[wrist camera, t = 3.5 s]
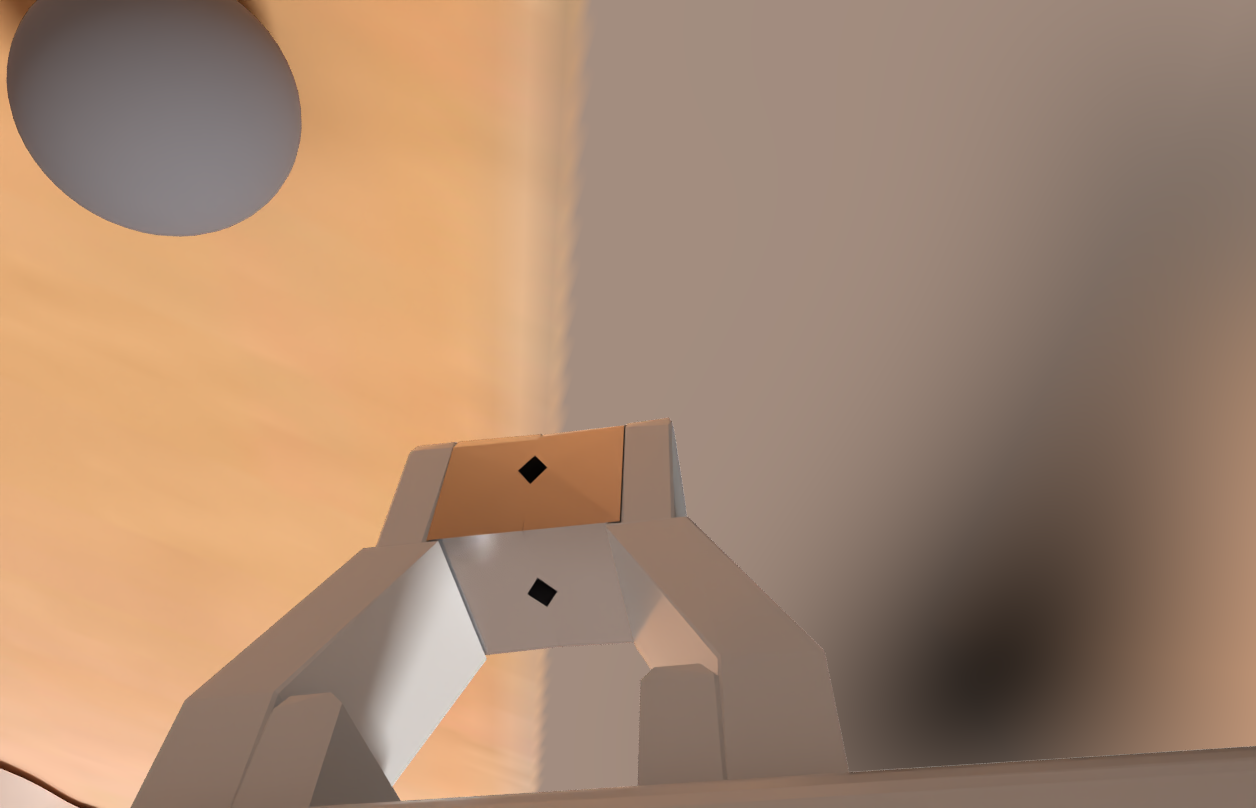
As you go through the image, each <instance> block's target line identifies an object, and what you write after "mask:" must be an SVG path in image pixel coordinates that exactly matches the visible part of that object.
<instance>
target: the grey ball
mask: <svg viewBox="0 0 1256 808" xmlns="http://www.w3.org/2000/svg"><path fill="white" fill-rule="evenodd" d="M7 91H8V98H9V103H10V107H11V111H12V115H13V119H14V121H15V124H16V127H17V130H18V132H19V134H20V136H21V138H22V140H23V142H24V144H25V146H26V148H27V150H28V151H29V153H30V154H31V156H32V157H33V159H34V160H35V162H36V163H37V164H38V166H39V167H40V168H41V169H42V171H43V172H44V173H45V174H46V175H47V176H48V178H49V179H50V180H51V181H52V182H53V183H54V184H55V185H56V186H57V187H58V188H59V189H61V190H62V191H63V192H64V193H65V194H66V195H67V196H69V197H70V198H71V199H73V200H74V201H75V202H77V203H78V204H79V205H81V206H82V207H84V208H85V209H87V210H89V211H90V212H92V213H93V214H95V215H97V216H99V217H101V218H103V219H105V220H107V221H110V222H112V223H115V224H117V225H120V226H123V227H126V228H129V229H132V230H136V231H139V232H143V233H148V234H154V235H164V236H195V235H201V234H206V233H211V232H215V231H219V230H222V229H225V228H228V227H231V226H233V225H235V224H237V223H239V222H241V221H243V220H245V219H247V218H248V217H250V216H252V215H253V214H255V213H256V212H257V211H258V210H260V209H261V208H262V207H263V206H265V205H266V204H267V203H268V202H269V201H270V200H271V199H272V198H273V197H274V196H275V194H276V193H277V192H278V191H279V189H280V188H281V186H282V185H283V183H284V182H285V180H286V179H287V177H288V175H289V174H290V171H291V169H292V167H293V164H294V162H295V159H296V155H297V151H298V147H299V144H300V137H301V107H300V101H299V95H298V90H297V87H296V83H295V80H294V77H293V74H292V72H291V70H290V67H289V65H288V62H287V60H286V59H285V57H284V55H283V53H282V51H281V50H280V48H279V46H278V45H277V43H276V42H275V40H274V39H273V38H272V36H271V35H270V33H269V32H268V31H267V30H266V28H265V27H264V26H263V25H262V24H261V23H260V21H259V20H258V19H257V18H256V17H255V16H254V15H253V14H252V13H251V12H250V11H248V10H247V9H246V8H245V7H244V6H243V5H242V4H241V3H239V2H238V1H237V0H37V1H36V2H35V3H34V4H33V5H32V6H31V7H30V8H29V10H28V11H27V13H26V14H25V16H24V17H23V19H22V21H21V22H20V24H19V26H18V28H17V31H16V33H15V36H14V38H13V40H12V43H11V48H10V52H9V57H8V64H7Z"/></svg>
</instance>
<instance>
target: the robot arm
mask: <svg viewBox="0 0 1256 808" xmlns="http://www.w3.org/2000/svg"><path fill="white" fill-rule="evenodd" d="M618 643H634V644H635V647H636V648H637V650H638V651H639V653H640V654H641V656H642V657H643V659H644V660H645V662H646V663H647V665H648V666H649V667H650V669H651V671H650V672H649V673H648V674H647V675H646V676H645V677H644V678H643V679H642V680H641V682H640V717H639V721H640V722H639V754H638V786H629V787H613V788H598V789H584V790H583V789H582V790H568V791H553V792H536V793H520V794H504V795H488V796H473V797H457V798H441V799H425V800H409V801H400V799H399V797H398V796H397V794H396V792H395V791H394V789H393V787H392V786H393V785H394V783H395V782H396V781H397V779H398V778H399V777H400V775H401V774H402V773H403V771H404V770H405V769H406V767H407V766H408V765H409V763H410V762H411V761H412V759H413V758H414V756H415V755H416V754H417V752H418V751H419V750H420V748H421V747H422V746H423V744H424V743H425V742H426V740H427V739H428V738H429V736H430V735H431V734H432V732H433V731H434V729H435V728H436V727H437V725H438V724H439V723H440V721H441V720H442V719H443V717H444V716H445V715H446V713H447V712H448V711H449V709H450V708H451V707H452V705H453V704H454V702H455V701H456V700H457V698H458V697H459V696H460V694H461V693H462V692H463V690H464V689H465V688H466V686H467V685H468V684H469V682H470V681H471V680H472V678H473V677H474V675H475V674H476V673H477V671H478V670H479V669H480V667H481V666H482V665H483V663H484V662H485V661H486V656H485V655H490V654H499V653H508V652H517V651H526V650H535V649H544V648H553V647H564V646H583V645H601V644H618ZM0 808H78V807H76V806H74V805H72V804H70V803H68V802H66V801H65V800H63V799H61V798H59V797H58V796H56V795H54V794H52V793H51V792H49V791H47V790H46V789H44V788H42V787H40V786H38V785H36V784H34V783H32V782H30V781H28V780H26V779H24V778H22V777H20V776H17V775H15V774H13V773H10V772H8V771H5V770H3V769H0ZM131 808H1256V746H1252V747H1251V746H1250V747H1235V748H1218V749H1203V750H1187V751H1173V752H1172V751H1171V752H1157V753H1141V754H1124V755H1110V756H1093V757H1077V758H1064V759H1063V758H1062V759H1046V760H1031V761H1015V762H1000V763H985V764H984V763H983V764H968V765H952V766H937V767H921V768H905V769H889V770H873V771H859V772H849V769H848V764H847V759H846V754H845V749H844V745H843V739H842V734H841V730H840V725H839V720H838V715H837V710H836V705H835V700H834V695H833V690H832V685H831V680H830V675H829V671H828V665H827V660H826V655H825V651H824V650H823V649H822V648H821V647H820V646H819V645H818V644H817V643H816V642H815V641H814V640H813V639H812V638H811V637H810V636H809V635H808V634H807V633H806V632H805V631H804V630H803V629H802V628H801V627H800V626H799V625H798V624H797V623H796V622H794V620H793V619H792V618H791V617H790V616H789V615H788V614H787V613H786V612H784V611H783V609H782V608H781V607H780V606H778V605H777V604H776V603H775V602H774V601H773V600H772V599H771V598H770V597H769V596H768V595H767V594H766V593H765V592H764V591H763V590H762V589H761V588H760V587H759V586H758V585H757V584H756V583H755V582H754V581H753V580H752V579H751V578H750V577H749V576H748V575H747V574H746V573H745V572H744V571H743V570H742V569H741V568H740V567H738V565H737V564H736V563H734V561H733V560H732V559H731V558H729V556H728V555H727V554H725V552H723V551H722V550H721V549H720V548H719V547H718V546H717V545H716V544H715V543H714V542H713V541H712V540H711V539H710V538H709V537H708V536H707V535H706V534H705V533H704V532H703V531H702V530H701V529H700V528H699V527H698V526H697V525H696V524H695V523H694V522H693V521H692V520H691V519H690V518H689V517H687V514H686V505H685V497H684V491H683V484H682V478H681V471H680V465H679V458H678V452H677V445H676V439H675V432H674V427H673V423H672V421H671V420H670V418H663V419H655V420H648V421H641V422H634V423H627V425H622V426H614V427H606V428H596V429H588V430H579V431H570V432H562V433H553V434H544V435H542V434H538V435H527V436H516V437H504V438H493V439H482V440H471V441H460V442H458V443H455V442H452V443H442V444H433V445H423V446H417V447H416V448H415V449H413V450H412V451H411V452H410V454H409V455H408V458H407V461H406V464H405V467H404V469H403V472H402V475H401V478H400V480H399V483H398V486H397V489H396V492H395V494H394V497H393V500H392V503H391V506H390V508H389V511H388V514H387V517H386V519H385V522H384V525H383V528H382V531H381V533H380V536H379V539H378V542H377V545H376V547H371V548H363V549H362V550H361V551H359V552H358V553H357V554H356V555H355V556H354V557H352V558H351V559H350V560H349V561H348V562H346V563H345V564H344V565H343V566H342V567H341V568H339V569H338V570H337V571H336V572H335V573H334V574H332V575H331V576H330V577H329V578H328V579H327V580H325V581H324V582H323V583H322V584H321V585H320V586H318V587H317V588H316V589H315V590H314V591H312V592H311V593H310V594H309V595H308V596H307V597H305V598H304V599H303V600H302V601H301V602H300V603H298V604H297V605H296V606H295V607H294V608H293V609H291V610H290V611H289V612H288V613H287V614H286V615H284V616H283V617H282V618H281V619H280V620H278V621H277V622H276V623H275V624H274V625H273V626H271V627H270V628H269V629H268V630H267V631H266V632H264V633H263V634H262V635H261V636H260V637H259V638H257V639H256V640H255V641H254V642H253V643H252V644H250V645H249V646H248V647H247V648H246V649H244V650H243V651H242V652H241V653H240V654H239V655H237V656H236V657H235V658H234V659H233V660H232V661H230V662H229V663H228V664H227V665H226V666H225V667H223V668H222V669H221V670H220V671H219V672H218V673H216V674H215V675H214V676H213V677H212V678H210V679H209V680H208V681H207V682H206V683H205V684H203V685H202V686H201V687H200V688H199V689H198V690H196V691H195V692H194V693H193V694H192V695H191V696H189V697H188V698H187V699H186V700H185V701H184V703H183V705H182V707H181V709H180V711H179V713H178V715H177V717H176V719H175V721H174V723H173V725H172V727H171V729H170V731H169V733H168V735H167V737H166V739H165V741H164V743H163V745H162V747H161V749H160V751H159V753H158V755H157V756H156V758H155V760H154V762H153V764H152V766H151V768H150V770H149V772H148V774H147V776H146V778H145V780H144V782H143V784H142V786H141V788H140V790H139V792H138V794H137V796H136V798H135V800H134V802H133V804H132V806H131Z"/></svg>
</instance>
